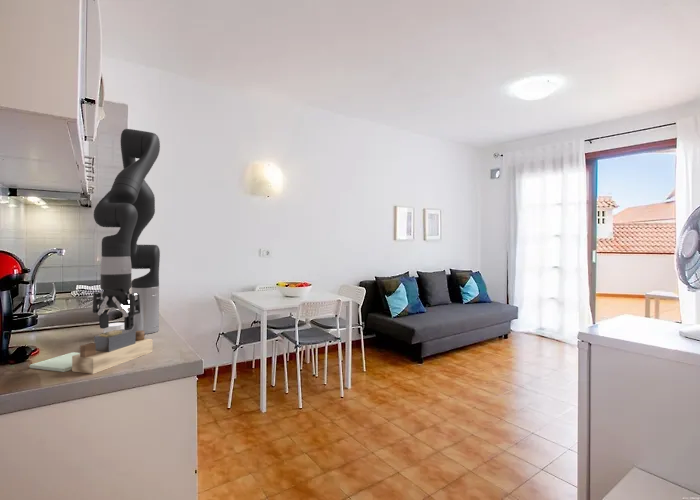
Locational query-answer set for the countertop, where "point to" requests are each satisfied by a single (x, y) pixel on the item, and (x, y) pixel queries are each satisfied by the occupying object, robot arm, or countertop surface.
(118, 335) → the dark gray block
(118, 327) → the white cup
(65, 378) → the countertop surface
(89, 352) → the body
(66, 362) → the mat
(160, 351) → the countertop surface
